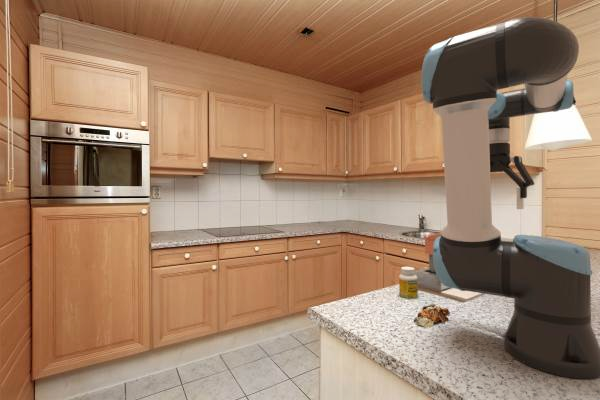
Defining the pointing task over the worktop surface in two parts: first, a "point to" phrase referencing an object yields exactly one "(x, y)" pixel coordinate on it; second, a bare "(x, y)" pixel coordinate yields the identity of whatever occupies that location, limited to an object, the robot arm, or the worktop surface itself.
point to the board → (440, 294)
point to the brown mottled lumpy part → (431, 315)
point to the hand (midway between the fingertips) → (496, 208)
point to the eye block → (429, 280)
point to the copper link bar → (430, 249)
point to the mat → (461, 294)
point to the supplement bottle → (408, 283)
